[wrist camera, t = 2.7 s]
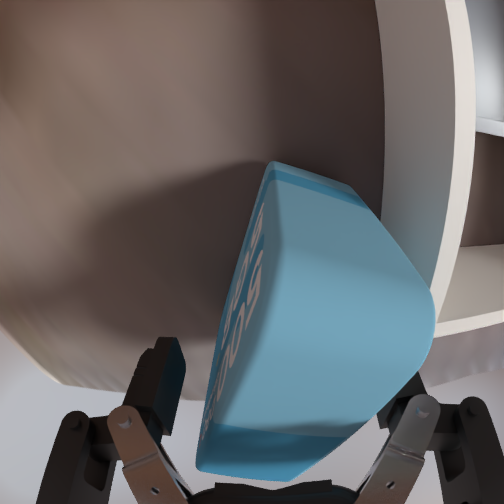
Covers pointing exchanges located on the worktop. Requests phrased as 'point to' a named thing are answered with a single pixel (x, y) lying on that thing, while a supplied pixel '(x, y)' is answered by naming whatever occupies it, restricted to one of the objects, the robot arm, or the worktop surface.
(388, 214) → the cubby
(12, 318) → the worktop surface
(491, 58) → the drawer
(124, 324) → the worktop surface
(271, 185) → the data package
